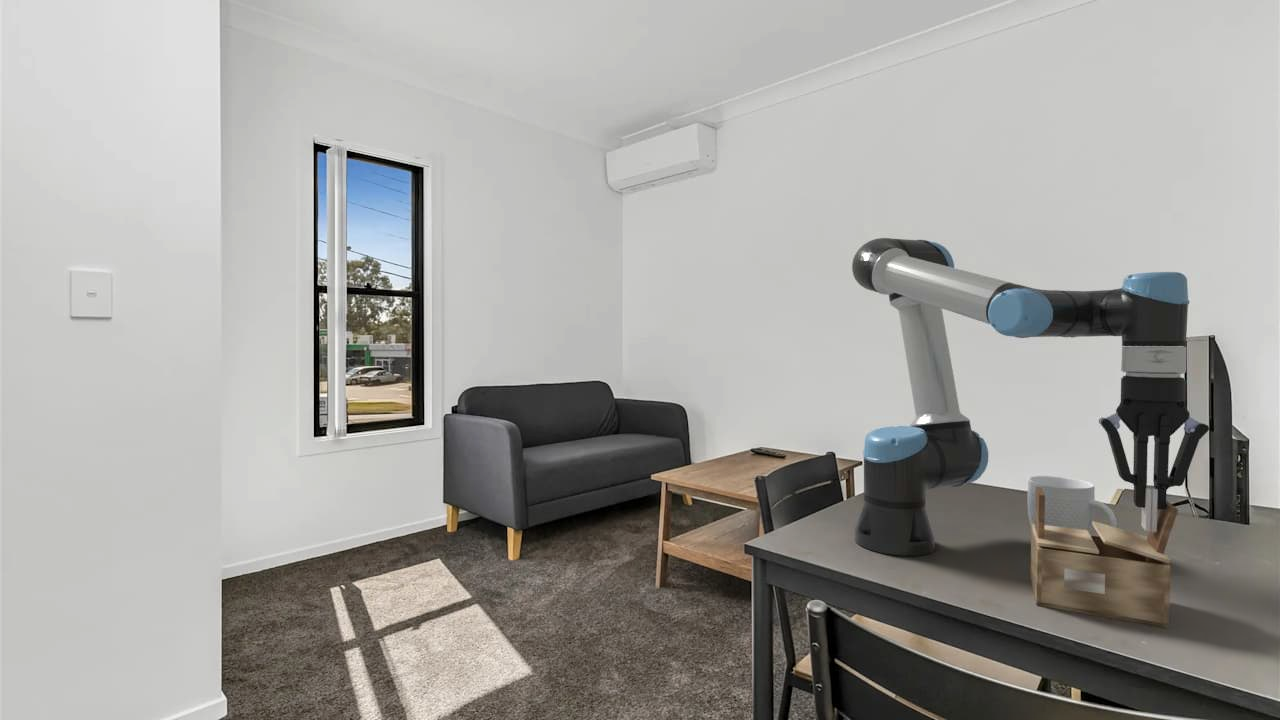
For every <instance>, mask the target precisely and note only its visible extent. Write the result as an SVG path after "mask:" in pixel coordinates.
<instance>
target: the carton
mask: <svg viewBox="0 0 1280 720" xmlns="http://www.w3.org/2000/svg"><path fill="white" fill-rule="evenodd" d="M1030 529H1031V530H1030V531H1031V532H1030V534H1031V535H1030V577H1029V578H1030V582H1031V587H1032V591H1033V595H1034V600H1035V604H1036V606H1040V607H1046V608H1051V609H1058V610H1061V611H1062V610H1063V611H1068V612H1074V613H1079V614H1085V615H1090V616H1091V615H1092V616H1097V617H1103V618H1109V619H1113V620H1119V621H1126V622H1130V623H1136V624H1142V625H1147V626H1148V625H1149V626H1153V627H1160V628H1165V629H1170V599H1171V597H1170V596H1171V595H1170V593H1171V565H1170V564H1169V563H1166V562H1163V561H1160V560H1156V559H1153V558H1150V557H1147V556H1143V555H1140V554H1137V553H1134V552H1130V551H1127V550H1124V549H1121V548H1117V547H1114V546H1111V545H1108V544H1104V542H1103V541H1102V539H1101V538H1100V536H1099V534H1098V535H1097V534H1090V536H1091V538H1092V539H1093V541H1094V543H1095V545H1096V546H1097V548H1098V550H1099V554H1095V553H1088V552H1080V551H1073V550H1066V549H1058V548H1051V547H1044V546H1037V543H1036V539H1035V536H1034V533H1033V529H1032V527H1031V528H1030Z"/></svg>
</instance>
